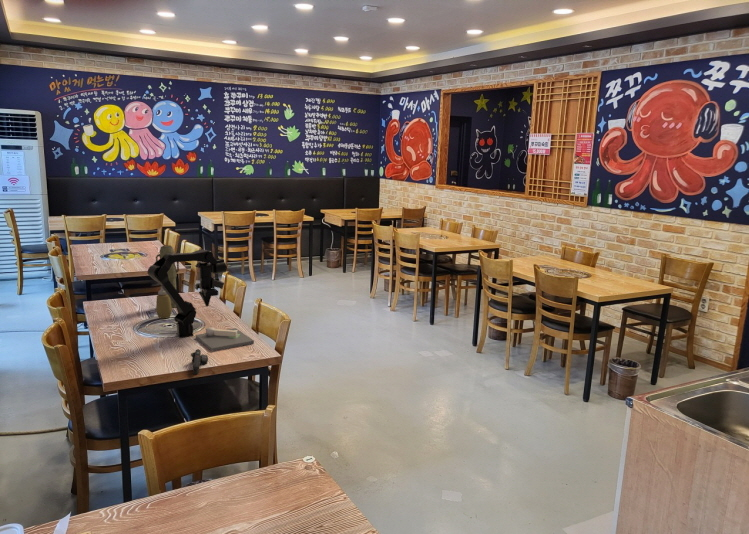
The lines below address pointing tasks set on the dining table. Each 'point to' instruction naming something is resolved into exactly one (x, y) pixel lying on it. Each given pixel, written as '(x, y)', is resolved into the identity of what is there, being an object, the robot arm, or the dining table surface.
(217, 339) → the board
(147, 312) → the dining table surface
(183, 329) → the robot arm
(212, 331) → the dial lever
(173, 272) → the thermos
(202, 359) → the can opener
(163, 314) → the squeeze bottle
